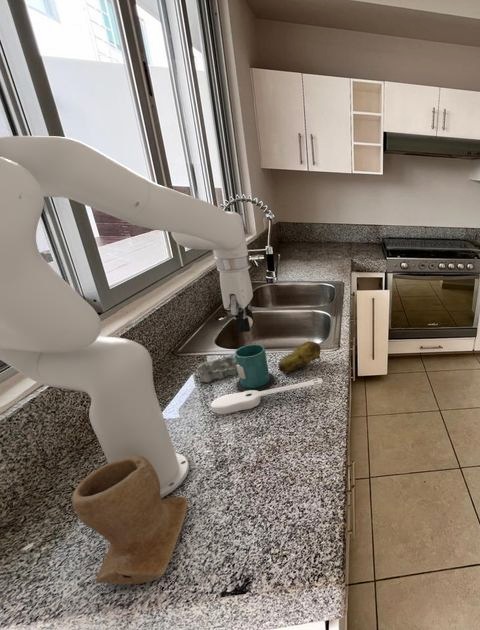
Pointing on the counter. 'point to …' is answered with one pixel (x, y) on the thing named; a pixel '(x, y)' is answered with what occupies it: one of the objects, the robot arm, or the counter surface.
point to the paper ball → (250, 321)
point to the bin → (252, 366)
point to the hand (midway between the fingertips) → (245, 327)
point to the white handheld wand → (251, 398)
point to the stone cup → (130, 519)
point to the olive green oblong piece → (300, 357)
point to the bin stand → (256, 387)
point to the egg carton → (217, 369)
